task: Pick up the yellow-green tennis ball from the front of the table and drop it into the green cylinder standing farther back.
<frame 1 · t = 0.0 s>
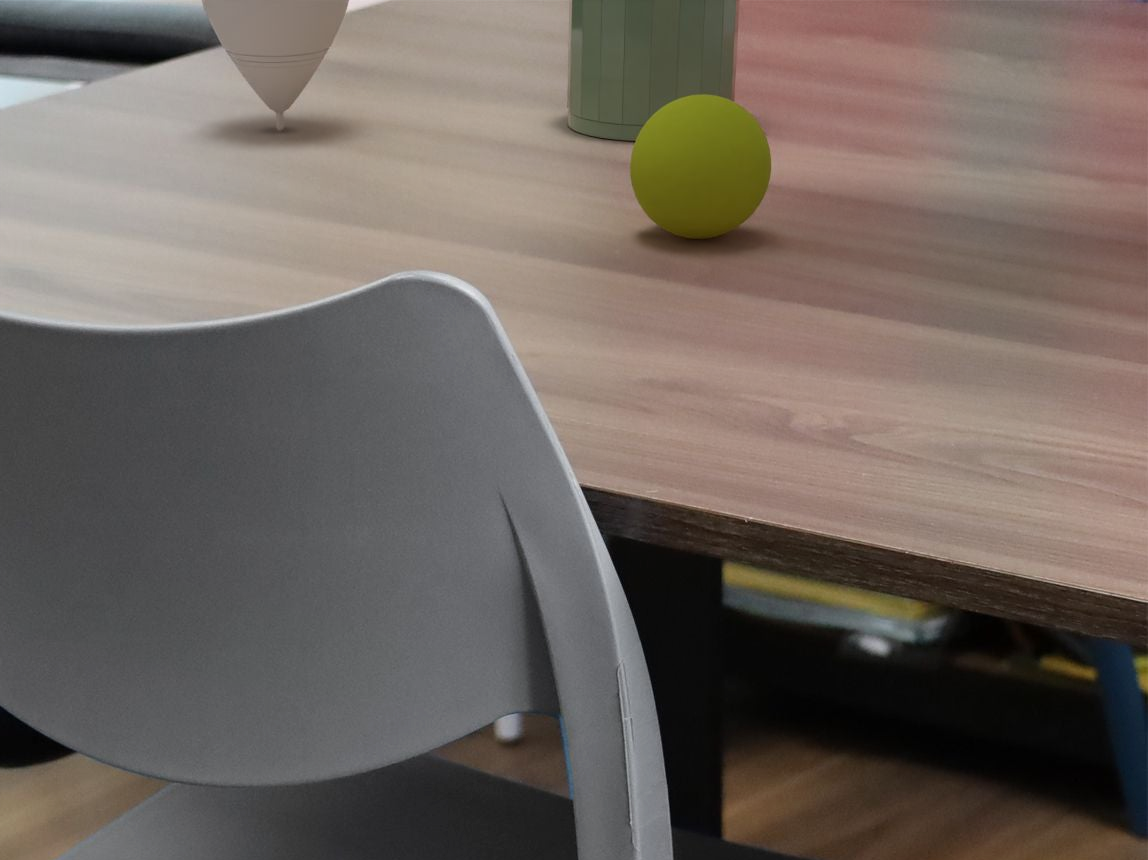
ball: (697, 236, 101), on the table
green cylinder: (649, 124, 123), on the table
spinning top: (280, 134, 123), on the table
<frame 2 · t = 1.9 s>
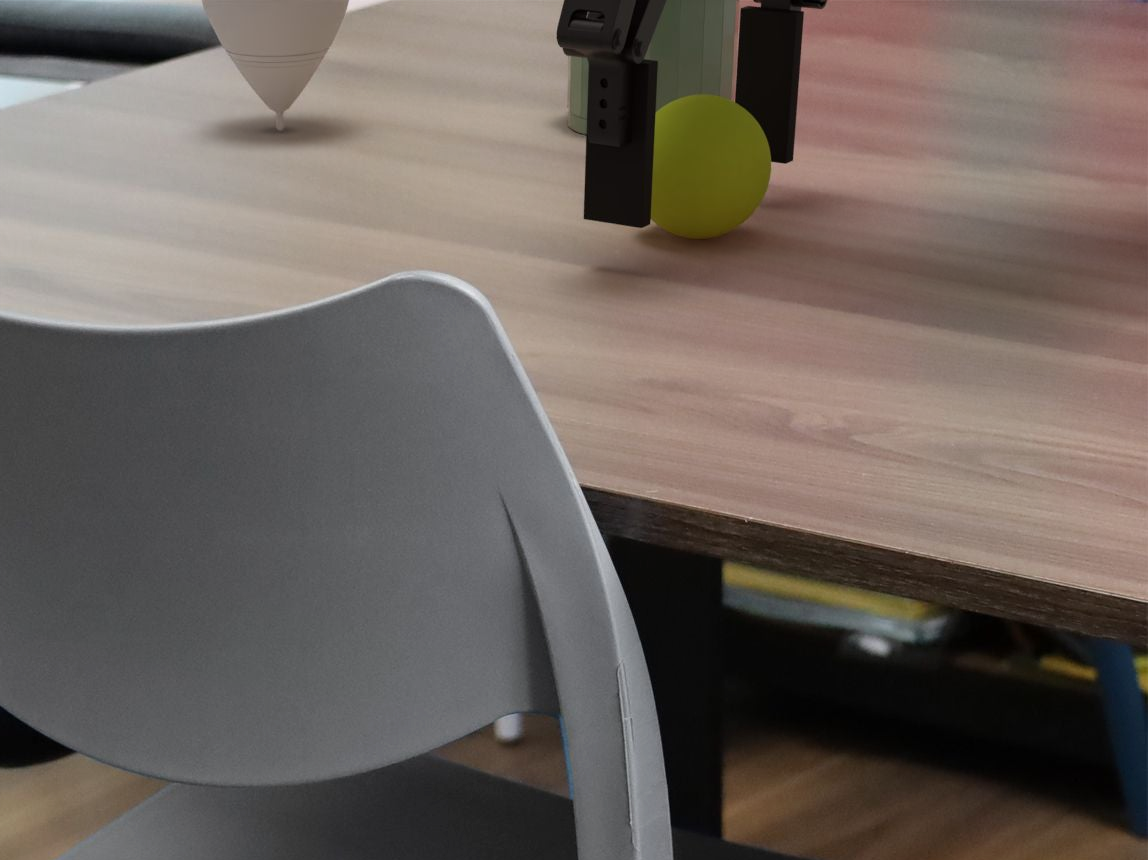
hand: (693, 189, 101), 2 cm above the table, tool pointing down, fingers open, 13 cm apart
nothing on the table moved.
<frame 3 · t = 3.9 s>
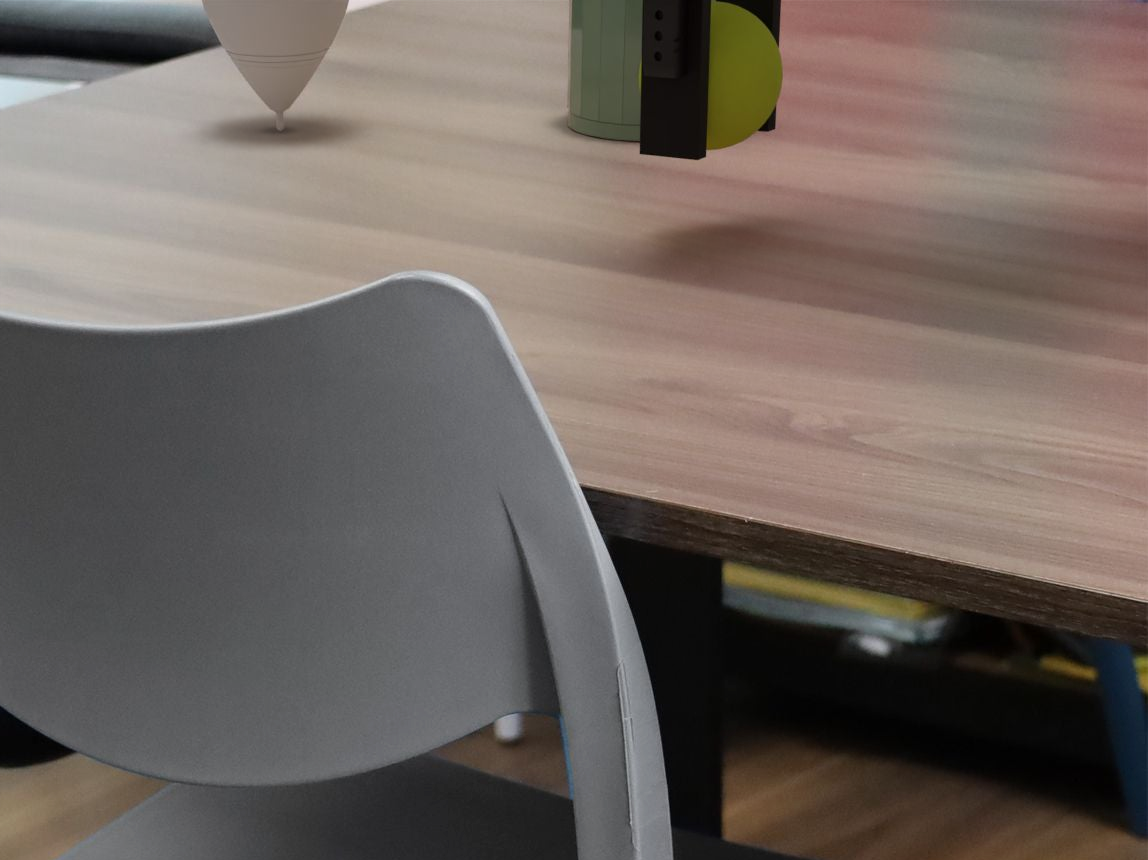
hand: (708, 140, 99), 4 cm above the table, tool pointing down, fingers closed on ball, 6 cm apart
ball: (707, 148, 100), point 4 cm above the table, touching gripper
everything else where it was.
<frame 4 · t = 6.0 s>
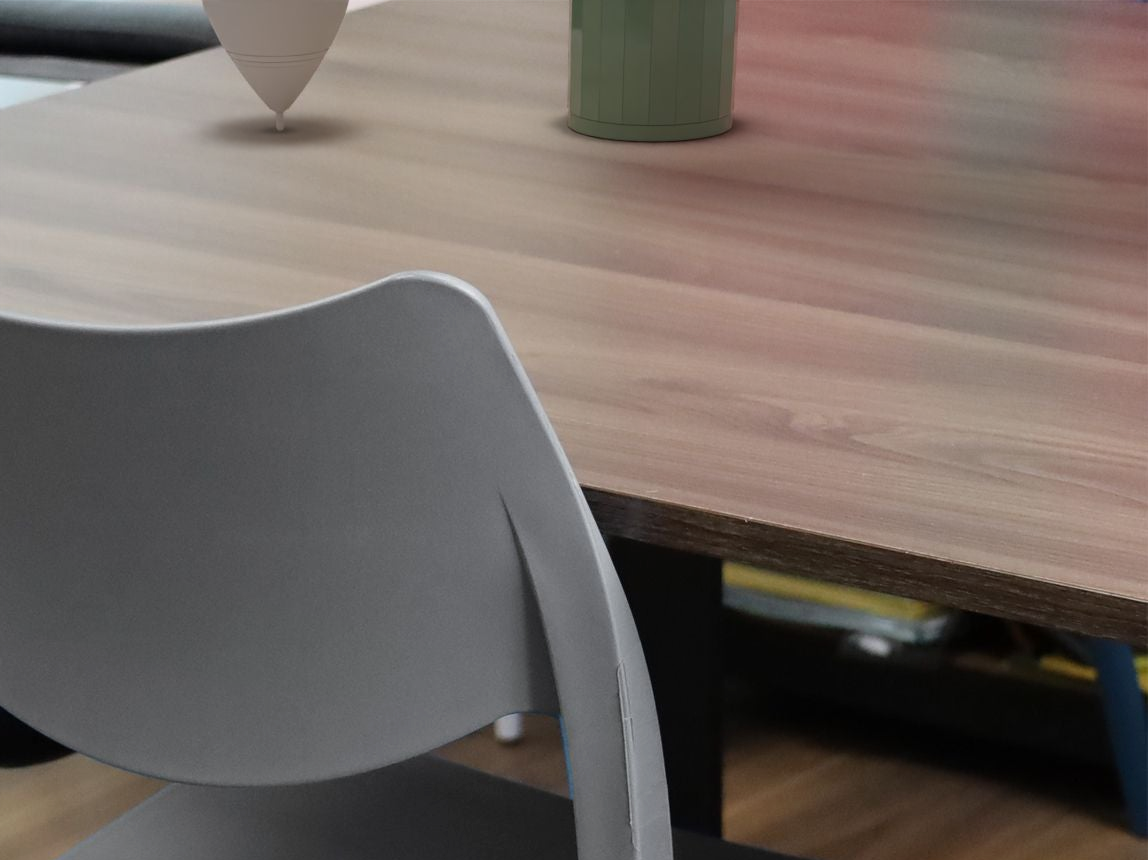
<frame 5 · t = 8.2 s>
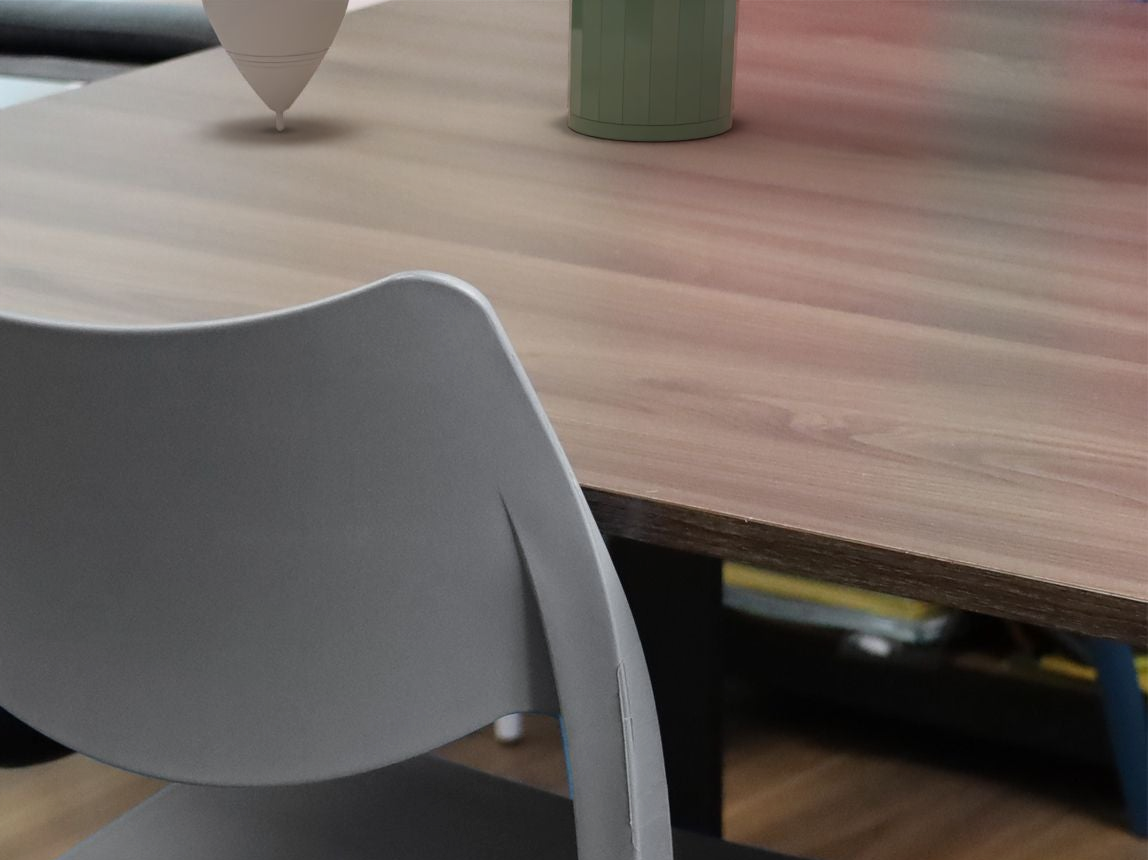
when the fingers open (11 cm above the table, at t = 8.6 s): ball drops 9 cm, resting on green cylinder.
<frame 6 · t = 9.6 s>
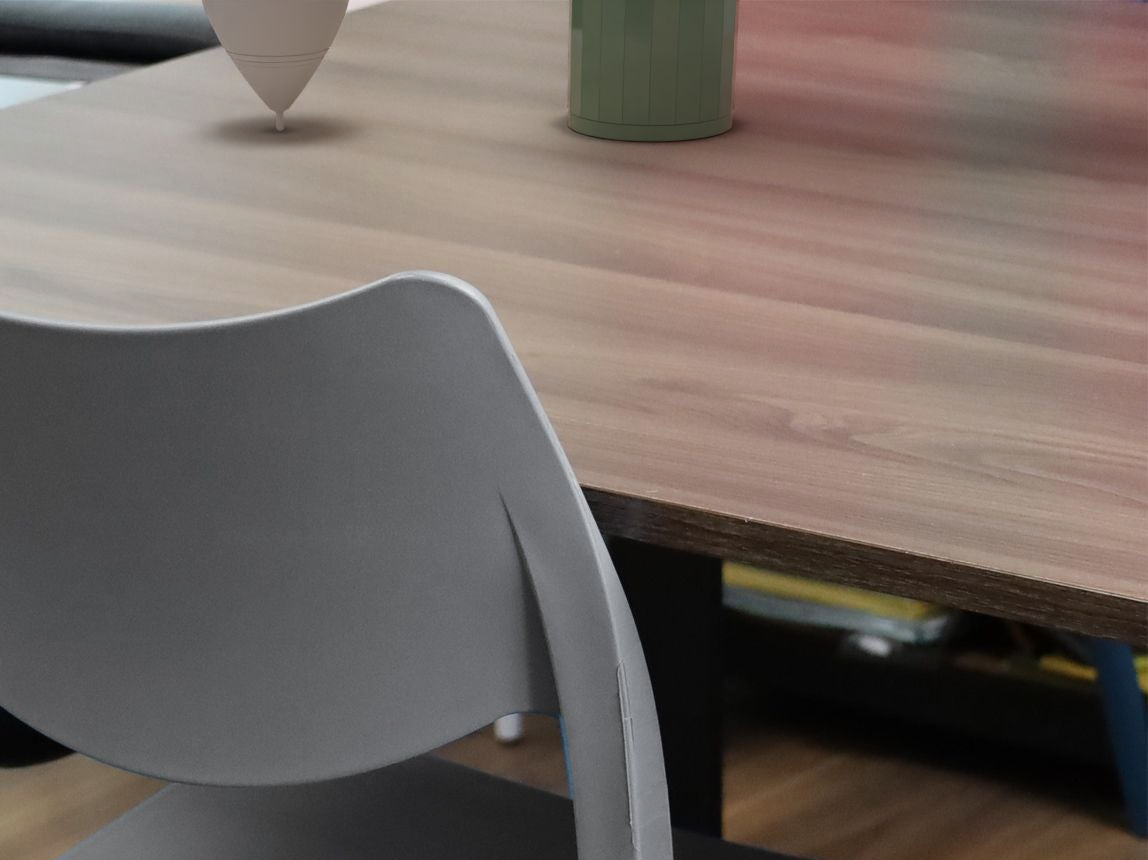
ball: (647, 108, 123), point 1 cm above the table, tilted 6°, touching green cylinder
everything else where it was.
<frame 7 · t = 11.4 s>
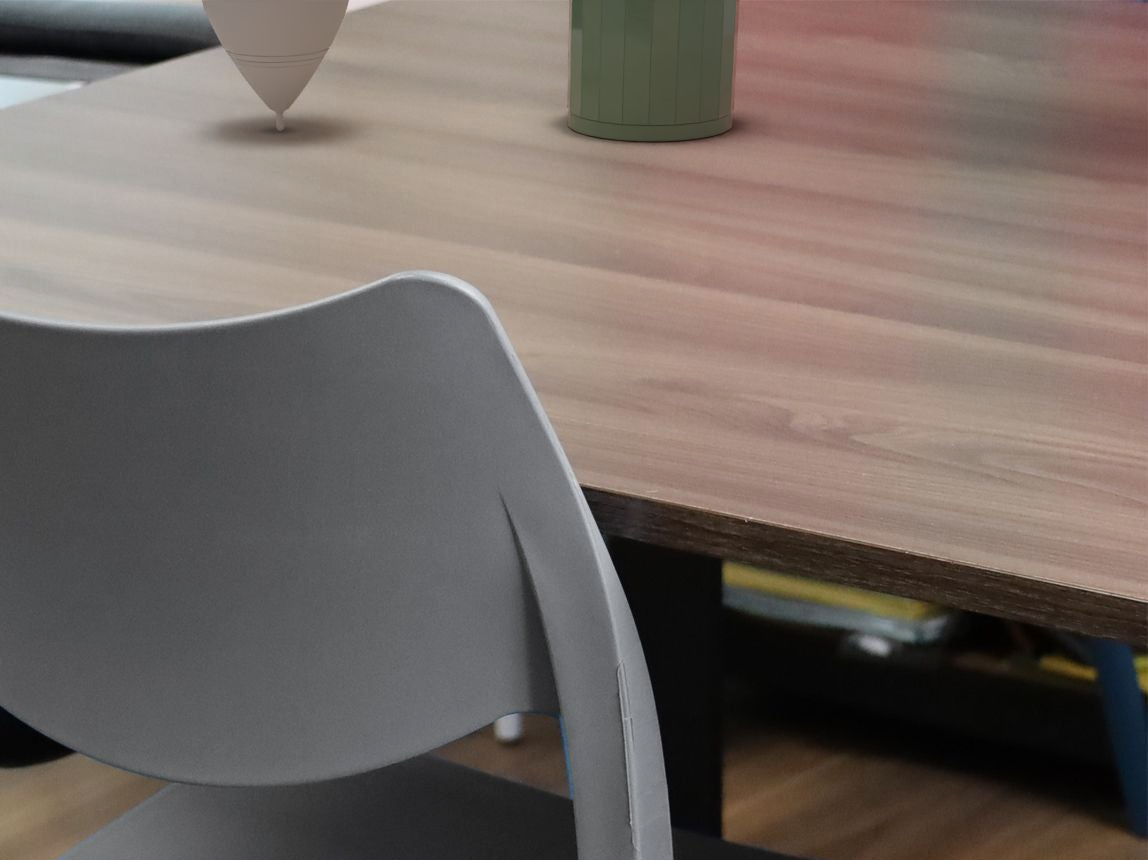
ball: (647, 106, 123), point 1 cm above the table, tilted 15°, touching green cylinder
everything else where it was.
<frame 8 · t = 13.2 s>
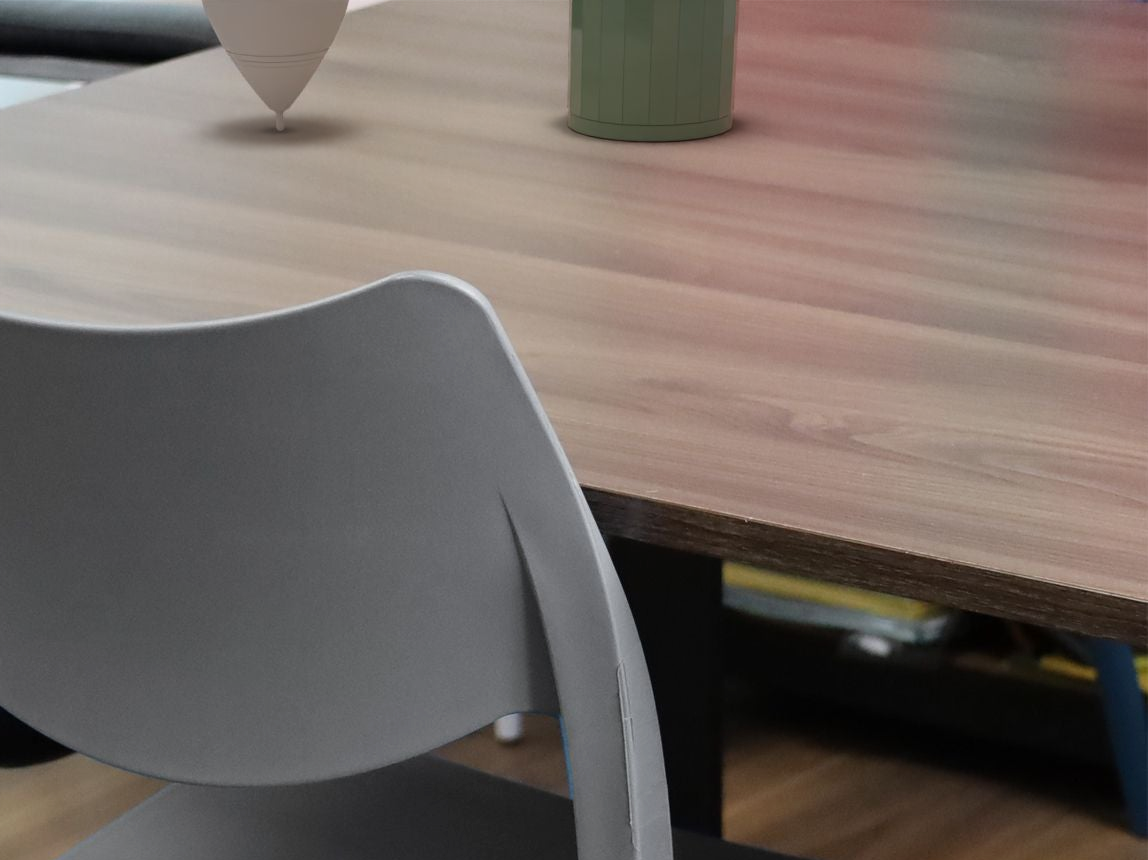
nothing on the table moved.
at the end: ball 0.2 cm off-centre in the green cylinder, point 0.9 cm above the green cylinder's base; the gripper is holding nothing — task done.
